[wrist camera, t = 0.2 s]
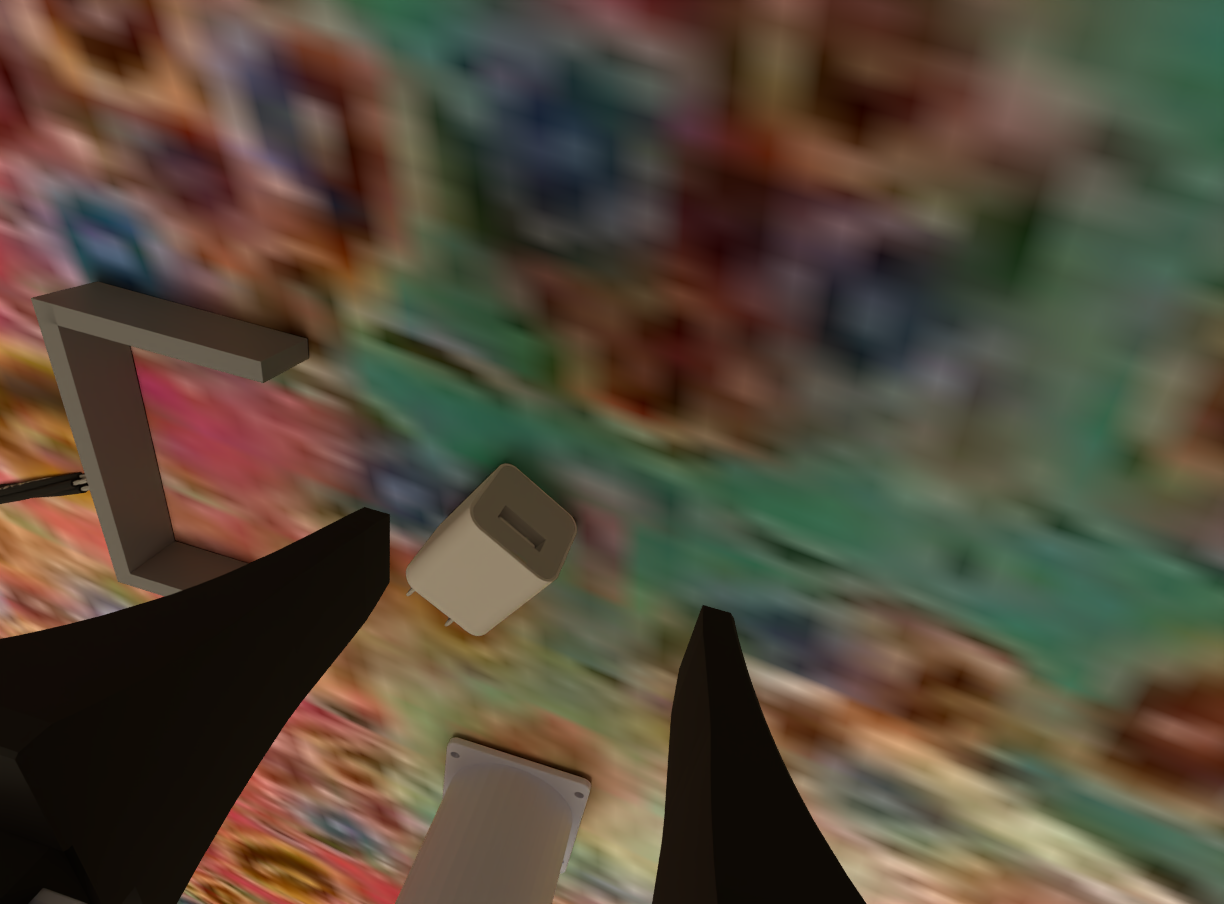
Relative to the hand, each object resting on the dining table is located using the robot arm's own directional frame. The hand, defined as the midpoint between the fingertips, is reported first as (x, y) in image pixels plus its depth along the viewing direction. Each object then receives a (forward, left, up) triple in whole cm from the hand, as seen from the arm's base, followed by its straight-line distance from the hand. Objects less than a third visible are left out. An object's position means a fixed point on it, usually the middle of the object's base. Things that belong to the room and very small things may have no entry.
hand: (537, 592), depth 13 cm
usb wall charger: (-7, +4, -10) cm, 13 cm away
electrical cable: (-13, +29, -10) cm, 33 cm away
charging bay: (-7, +16, -9) cm, 20 cm away
